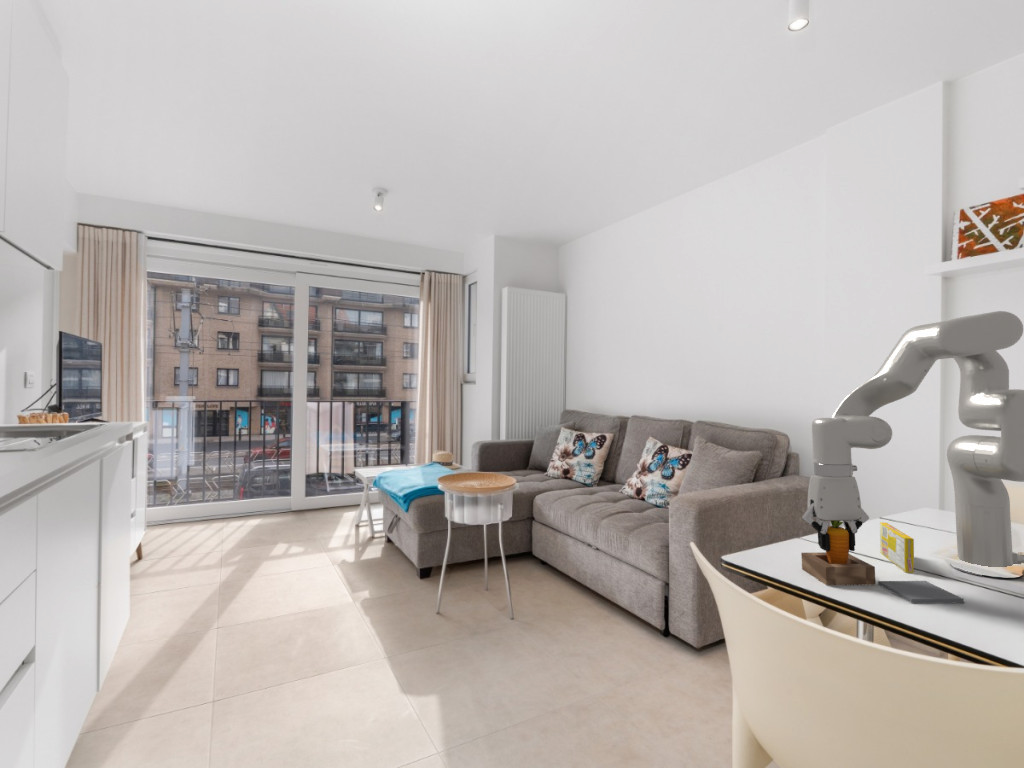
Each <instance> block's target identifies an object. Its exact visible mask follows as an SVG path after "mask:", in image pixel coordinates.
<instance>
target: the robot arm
mask: <svg viewBox="0 0 1024 768" xmlns="http://www.w3.org/2000/svg"><path fill="white" fill-rule="evenodd" d="M1023 334H1024V325H1023V322H1022V320H1021V319H1020V318H1019V317H1018V316H1017V315H1016V314H1014V313H1012V312H1010V311H1005V310H1004V311H1003V310H997V311H991V312H985V313H984V312H983V313H980V314H974V315H968V316H961V317H955V318H952V319H949V320H945V321H938V322H934V323H933V322H932V323H928V324H920V325H917V326H913V327H910V328H908V329H907V330H905V332H904V333H902V334H901V336H900V338H899V339H898V341H897V342H896V344H895V345H894V347H893V348H892V350H891V351H890V352H889V354H888V356H887V357H886V359H884V362H883V363H882V364H881V366H880V367H879V369H878V370H877V371H876V373H875V374H874V375H873V376H872V377H870V378H868V380H866V381H864V382H863V383H862V384H861V385H859V386H858V387H857V388H855V389H854V390H853V391H852V392H850V393H849V394H848V395H847V396H846V397H845V398H844V399H843V400H842V401H841V402H840V403H839V404H838V406H837V408H836V410H835V411H834V412H833V414H832V416H831V417H819V418H814V420H813V421H812V423H811V434H812V454H813V455H812V456H813V457H812V458H813V474H814V475H810V478H809V481H808V489H807V509H806V511H805V512H804V514H803V515H802V517H801V519H802V520H803V521H804V522H806V523H808V524H809V526H811V527H812V528H813V529H815V531H816V532H817V545H818V546H819V548H820V549H821V550H823V551H824V552H826V551H830V537H829V534H827V528H828V527H829V522H831V521H840V522H843V523H842V524H843V526H844V527H843V528H844V529H846V530H847V531H848V533H849V552H850V551H851V552H854V551H855V550H856V549H855V548H856V547H855V546H856V534H857V533H858V530H859V529H860V528H861V527H862V525H863V524H865V523H866V522H867V521H868V520H870V516H869V515H868V514H867V512H866V511H865V510H864V509H863V508H862V501H861V496H860V489H859V486H858V482H857V479H856V477H855V476H853V474H854V472H857V471H858V467H857V465H856V464H855V465H854V464H853V463H852V462H853V461H852V449H853V448H856V449H867V450H875V449H880V448H883V447H885V446H887V445H888V444H889V443H890V441H891V440H892V438H893V429H892V427H891V425H890V424H889V423H888V422H887V421H885V420H884V419H882V418H880V417H877V416H870V415H872V414H873V413H874V412H876V411H877V410H878V409H880V408H882V407H884V406H887V405H888V404H891V403H894V402H897V401H900V400H902V399H904V398H906V397H908V396H911V395H912V394H913V393H915V392H916V391H917V390H918V388H919V386H920V385H921V383H922V382H923V381H924V379H925V378H926V376H927V375H928V373H929V371H930V370H931V368H932V367H933V366H934V364H935V363H936V362H937V361H938V360H945V359H953V360H954V361H955V362H956V364H957V366H958V368H959V372H960V380H959V381H960V382H959V395H958V396H959V397H958V411H957V412H958V419H959V421H960V422H961V424H962V425H964V426H965V427H967V428H970V429H972V430H973V429H975V430H981V431H993V432H994V431H995V432H1000V436H994V435H993V436H991V435H990V436H989V435H979V434H975V435H974V434H970V435H969V434H968V435H962V436H960V437H957V438H955V439H953V440H952V441H951V442H950V443H949V445H948V447H947V450H946V458H947V459H946V460H947V462H948V466H949V470H950V471H951V472H950V473H951V476H952V480H953V481H952V482H953V488H954V489H953V490H954V510H955V513H954V514H955V528H956V542H957V543H956V545H957V547H956V549H957V557H959V559H960V560H962V561H965V562H968V563H971V564H977V565H981V566H988V567H1007V566H1012V565H1013V564H1020V565H1021V564H1024V554H1018V553H1016V552H1013V540H1012V538H1013V537H1012V522H1011V521H1012V519H1011V501H1010V500H1011V499H1010V495H1009V491H1008V489H1007V487H1006V486H1005V484H1004V482H1003V480H1005V481H1009V482H1010V481H1011V482H1019V483H1023V482H1024V389H1021V388H1020V389H1016V388H1014V389H1011V388H1010V370H1009V366H1008V363H1007V361H1006V360H1005V359H1004V356H1002V355H1001V354H1000V353H999V352H998V351H999V350H1004V349H1008V348H1010V347H1013V346H1014V345H1015V344H1017V343H1018V342H1019V341H1020V339H1021V338H1022V336H1023ZM813 518H816V521H815V520H814V519H813ZM951 567H952V568H954V569H956V570H959V571H961V572H964V573H968V574H971V575H975V576H981V577H983V576H982V575H979V574H975V573H972V572H968V571H964V570H961V569H958V568H955V567H953V566H951Z"/></svg>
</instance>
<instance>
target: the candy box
mask: <svg viewBox="0 0 1024 768" xmlns="http://www.w3.org/2000/svg"><path fill="white" fill-rule="evenodd" d="M914 541H915V540H914V538H913V537H911V536H909V535H908V534H906V533H905V532H903V531H901V530H899V529H898V528H896V527H894V526H893V525H891V524H889V523H888V522H881V521H879V543H880V544H879V550H880V551H879V553H880V554H881V555H883V556H884V557H885V558H886V559H888V560H889V561H890V562H892V563H893V564H894V565H895V566H896V567H898V568H899V569H900V570H901V571H903V572H904V573H906V574H914V573H915V572H914V571H915V547H914V546H915V544H914V543H915V542H914Z"/></svg>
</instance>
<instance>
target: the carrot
mask: <svg viewBox="0 0 1024 768" xmlns="http://www.w3.org/2000/svg"><path fill="white" fill-rule="evenodd" d="M830 523H831V525H830V526H829V525H828V528H827V534H829V537H830V551H825V552H826V554H827V558H828V561H829V564H847V561H848V555H849V554H850V550H849V533H848V531H847V530H846V529H845V527H842V526H841V525H842V524H843V521H830Z"/></svg>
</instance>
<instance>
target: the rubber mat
mask: <svg viewBox="0 0 1024 768" xmlns="http://www.w3.org/2000/svg"><path fill="white" fill-rule="evenodd" d="M877 583H878V586H880V587H881V588H884V589H885V590H888V591H889V592H891V593H892V594H895V595H896V596H899V597H900V598H901V599H903V600H905V601H907V602H909V603H911V604H964V602H965V599H964V598H963V597H960V596H959V595H957V594H954V593H952V592H950V591H948V590H945V589H944V588H941V587H939V586H937V585H935V584H934V583H931V582H929V581H927V580H878V581H877Z"/></svg>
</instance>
